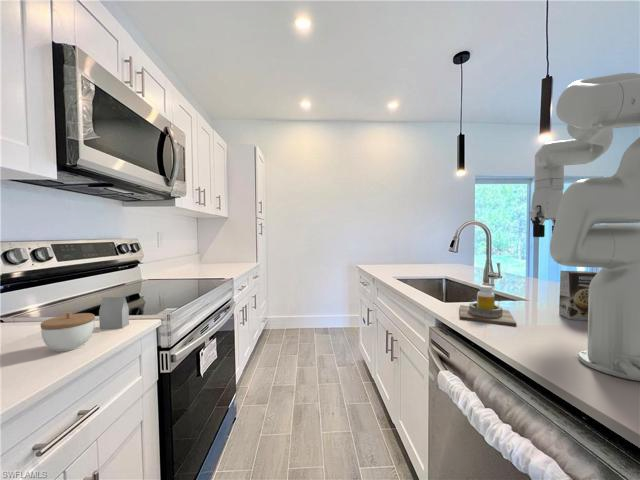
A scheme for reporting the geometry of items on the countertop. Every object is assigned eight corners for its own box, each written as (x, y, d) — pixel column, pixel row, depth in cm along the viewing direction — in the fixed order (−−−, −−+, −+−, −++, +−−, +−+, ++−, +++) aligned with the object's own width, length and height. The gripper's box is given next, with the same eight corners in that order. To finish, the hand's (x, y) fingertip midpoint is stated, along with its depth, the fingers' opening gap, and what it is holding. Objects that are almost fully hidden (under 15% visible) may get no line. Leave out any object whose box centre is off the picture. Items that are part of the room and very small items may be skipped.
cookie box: (570, 319, 92) (570, 272, 92) (558, 314, 98) (559, 270, 98) (602, 321, 90) (603, 273, 90) (588, 315, 96) (589, 270, 96)
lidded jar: (79, 353, 69) (78, 317, 69) (29, 357, 67) (28, 320, 67) (103, 337, 80) (103, 306, 79) (61, 341, 77) (60, 308, 77)
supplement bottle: (497, 315, 94) (497, 288, 93) (480, 315, 95) (480, 287, 94) (490, 311, 99) (490, 285, 99) (474, 310, 100) (474, 284, 100)
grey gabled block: (122, 328, 88) (121, 297, 87) (99, 329, 87) (98, 298, 86) (129, 324, 91) (128, 295, 91) (107, 325, 90) (106, 295, 90)
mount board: (516, 326, 86) (516, 315, 86) (460, 319, 94) (460, 309, 94) (508, 312, 100) (508, 303, 100) (460, 307, 108) (460, 299, 108)
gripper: (552, 189, 97) (552, 236, 98) (519, 186, 91) (519, 237, 92) (578, 185, 90) (577, 236, 91) (544, 182, 84) (543, 237, 85)
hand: (548, 237), depth 91 cm, fingers open, 9 cm apart
